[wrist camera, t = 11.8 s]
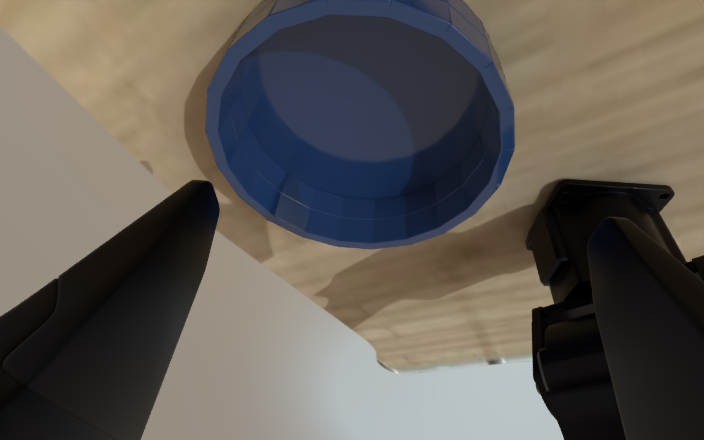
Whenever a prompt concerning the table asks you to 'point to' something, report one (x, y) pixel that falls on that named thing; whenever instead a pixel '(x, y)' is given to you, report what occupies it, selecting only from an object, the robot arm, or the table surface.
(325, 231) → the blue bowl
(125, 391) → the robot arm
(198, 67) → the table surface
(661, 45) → the table surface
